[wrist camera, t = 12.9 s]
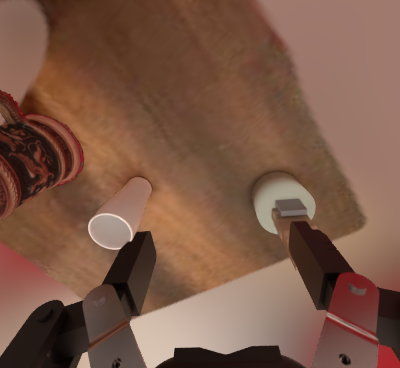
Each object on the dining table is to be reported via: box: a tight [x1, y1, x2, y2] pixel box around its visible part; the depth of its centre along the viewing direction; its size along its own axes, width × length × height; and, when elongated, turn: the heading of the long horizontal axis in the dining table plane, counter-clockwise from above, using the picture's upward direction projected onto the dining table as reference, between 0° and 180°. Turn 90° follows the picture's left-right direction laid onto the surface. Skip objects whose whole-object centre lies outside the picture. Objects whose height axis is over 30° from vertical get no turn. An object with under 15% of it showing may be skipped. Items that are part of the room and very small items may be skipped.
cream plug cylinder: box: [251, 171, 315, 236], centre depth 40 cm, size 10×10×10 cm
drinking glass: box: [88, 177, 152, 249], centre depth 38 cm, size 7×7×15 cm
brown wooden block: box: [271, 208, 318, 270], centre depth 32 cm, size 2×5×12 cm, turn 97°
